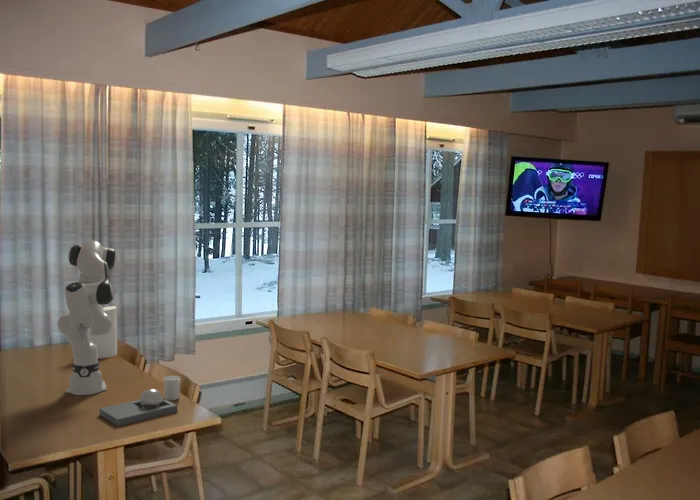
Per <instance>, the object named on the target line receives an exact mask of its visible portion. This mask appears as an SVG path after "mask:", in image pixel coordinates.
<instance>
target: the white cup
mask: <svg viewBox="0 0 700 500" xmlns="http://www.w3.org/2000/svg"><path fill="white" fill-rule="evenodd" d="M163 391H164V399H166V400H168V401H176V399H177V400H179V399H180V394H181V393H180V392H181V376H179V375H167V376H165V377H163Z"/></svg>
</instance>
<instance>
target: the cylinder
mask: <svg viewBox="0 0 700 500" xmlns="http://www.w3.org/2000/svg"><path fill="white" fill-rule="evenodd" d="M103 309H104V311H105V312H106V313H107V314H108V315H109V316H110V318H111V320H112V328H111V330H110V332H109V333H108V334H105V335H99V336H91V339H90V341H91V342H93V343H94V344H95V345H96V346H97V348H98V359H106V358H113V357H115V356H117V355H118V319H117V317H118V316H117V315H118V314H117V306H114V305H111V306H104V307H103Z"/></svg>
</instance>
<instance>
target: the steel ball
mask: <svg viewBox="0 0 700 500" xmlns="http://www.w3.org/2000/svg"><path fill="white" fill-rule="evenodd" d="M163 398H164V397H163V395H162V392H161V391H159V390H158V389H156V388H149V389H146V390H144V391H143V392H142V393H141V395H140V397H139V400H140V404H141V406H142V409H144V410H149V409H153V408H157V407H162V406H161V405H162V403H163Z"/></svg>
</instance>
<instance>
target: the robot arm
mask: <svg viewBox="0 0 700 500" xmlns="http://www.w3.org/2000/svg"><path fill="white" fill-rule="evenodd" d="M67 258H68V259H67V260H68V262H69V264H70V265H71V266H72V267H76V268H77V270H78V271H79V272H80V274H79V279H78V282H77V281H76V282H72V283H69V284H67V286H66V287H65V288H64V289H65V291H64V292H65V295H64V296H65V304H66V306H67V309H68V310H69V312H67V313H63V314H61V315H60V316H59V318H58V321H57V328H58V330H59V332H60V333H61V334H62V335H64V336H65V337H66V338H67V340H68V341H69V343H70V344H71V347H72V355H73V363H72V373H71V374H70V375H69V387H68V388H67V389H66V390H65V393H67V394H71V395H74V396H75V395H76V396H91V395H95V394H98V393H102V392H104V391H107V384H106V381H105V380H104V379H103V373H102V372H101V371H100V362H99V360H98V359H99V358H98V348H97V346H96V345H95V344H94V343H93V342H91V341H90V339H91V336H99V335H105V334H108V333H109V332H110V330H111V328H112V320H111V318H110V316H109V315H108V314H107V313H106V312H105V311H104V309H103V308H104V307H103V305H109V304H110V303H111V302H113V300H114V296H115V292H114V288H113V284H112V276H111V270H112V268H114V267H115V266H116V263H117V261H118V255H117V252H116V250H115V249H114V248H111V247H105V246H103V245H102V244H101V243H100V242H99V241H97V240H93V239H92V240H87V241H86V242H84V243H83V245H81V244H77V245H73V246H71V247H70V249H69V251H68V254H67Z"/></svg>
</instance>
